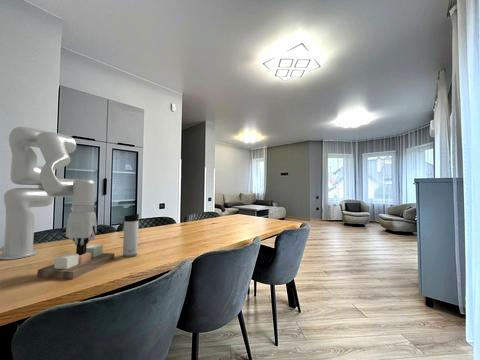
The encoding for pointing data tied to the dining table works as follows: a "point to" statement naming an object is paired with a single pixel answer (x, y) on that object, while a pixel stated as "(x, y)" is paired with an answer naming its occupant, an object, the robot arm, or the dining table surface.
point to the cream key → (66, 261)
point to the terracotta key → (84, 258)
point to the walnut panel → (75, 268)
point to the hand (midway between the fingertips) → (81, 254)
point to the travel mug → (130, 235)
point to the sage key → (94, 250)
